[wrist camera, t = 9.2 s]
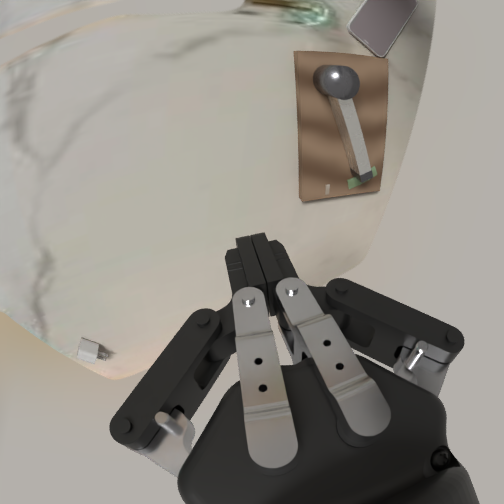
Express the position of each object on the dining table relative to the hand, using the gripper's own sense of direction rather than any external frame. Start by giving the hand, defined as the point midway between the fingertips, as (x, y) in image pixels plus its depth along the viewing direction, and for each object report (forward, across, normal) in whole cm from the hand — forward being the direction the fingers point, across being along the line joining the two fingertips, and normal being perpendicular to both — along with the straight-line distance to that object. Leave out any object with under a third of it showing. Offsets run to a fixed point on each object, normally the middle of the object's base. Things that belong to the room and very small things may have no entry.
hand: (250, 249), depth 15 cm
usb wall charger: (+25, +36, +38) cm, 58 cm away
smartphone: (+26, -27, -18) cm, 41 cm away
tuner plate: (+25, -18, +1) cm, 31 cm away
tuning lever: (+24, -18, 0) cm, 30 cm away
